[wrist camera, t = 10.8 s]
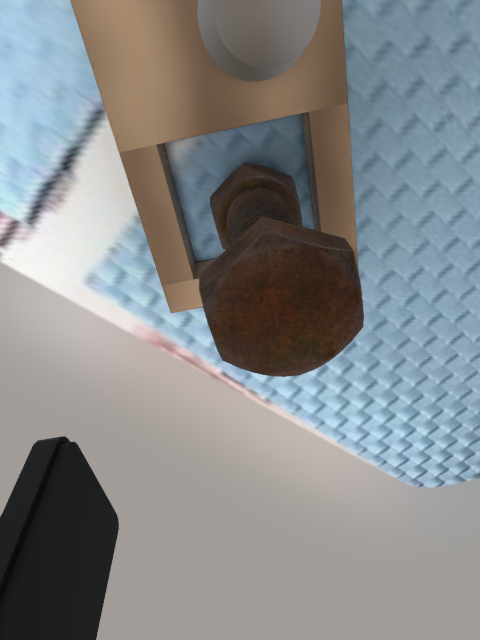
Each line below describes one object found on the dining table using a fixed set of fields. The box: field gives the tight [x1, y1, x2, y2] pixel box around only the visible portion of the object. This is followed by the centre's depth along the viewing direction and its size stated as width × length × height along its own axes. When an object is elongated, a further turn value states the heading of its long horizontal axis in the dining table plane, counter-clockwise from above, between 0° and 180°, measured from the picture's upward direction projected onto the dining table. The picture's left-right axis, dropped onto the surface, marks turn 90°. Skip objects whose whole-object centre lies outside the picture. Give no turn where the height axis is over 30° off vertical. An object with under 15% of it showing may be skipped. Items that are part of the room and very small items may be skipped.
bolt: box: [199, 163, 364, 377], centre depth 21 cm, size 6×5×15 cm
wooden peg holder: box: [70, 0, 358, 313], centre depth 22 cm, size 12×18×9 cm, turn 11°
